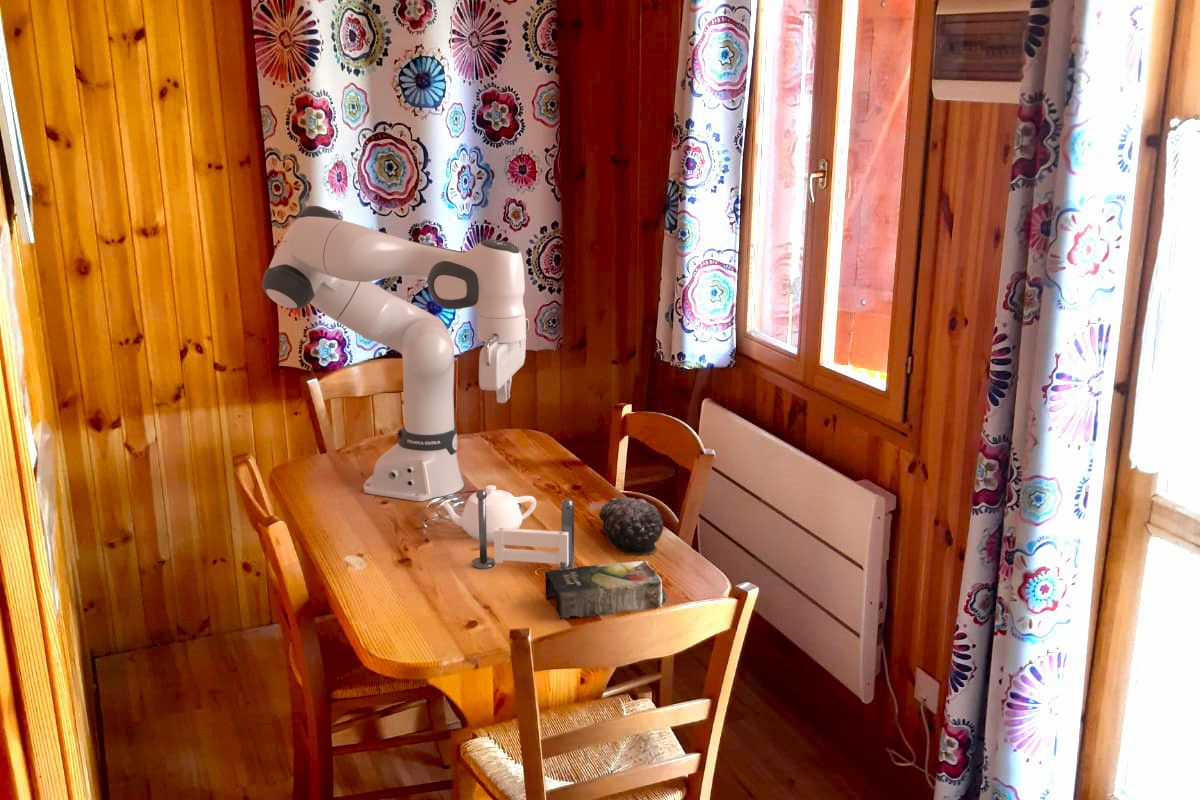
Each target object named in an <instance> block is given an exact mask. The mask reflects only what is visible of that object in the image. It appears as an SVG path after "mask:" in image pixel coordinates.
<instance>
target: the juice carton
mask: <svg viewBox="0 0 1200 800" xmlns="http://www.w3.org/2000/svg"><path fill="white" fill-rule="evenodd" d="M544 574H545V575H544V578H545V580H544V581H545V599H546V600H548V598H554V597H555V600H556V601H555V602H556V611H557V615H558V618H559V619H560V620H562V617H563V618H566V619H570V617H575V616H576V617H579V618H581V617H582V618H584V617H586V616H587V617H597V615H598V616H606V615H614V614H619V613H625V612H634V610H635V611H643V610H650V609H659V608H662V605H664V604H665V602H666V600H667V595H666V591H665V590H664V588H663V585H662V583H663V582H662V579H661V577H660V575H658V574H657V571H656V569H655V568H653V567H651V565H650V564H649V563H648V561H647V560H644V561H643V560H639V561H636V560H635V561H629V562H628V561H627V562H617V563H613V562H612V563H605V564H597V565H596V564H595V565H584V566H578V567H572V568H566V569H561V568H560V569H551V570H548V571H545V573H544Z"/></svg>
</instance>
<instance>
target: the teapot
mask: <svg viewBox="0 0 1200 800" xmlns="http://www.w3.org/2000/svg"><path fill="white" fill-rule="evenodd" d="M484 490H485V491H486V493H487V497H486V498H485V501H486V536H487V543H490V542H492V543H494V530H495V528H496V527H498V528H511V529H521V526H522V523H523V520H525V519H527V518H528V517H529V516H530V515H532V513H533V512H534V511H535V510H536V507H537V499H536V498H535V497H534V496H532V495H523V496H514V495H513V494H512V493H511V492H509V491H506V490H504V489H503V490H502V489H497V486H496V485H493V484H489V485H487V486H485V489H484ZM476 493H477V491H476V492H474V493H472V494H470V496H469V497H468V499H467V501H466V502H465V505H464V508H463V511H462V513H461V515H459V514H457V513H456V512H455V510H454V509H453V507H452V506H451V505H450V503H448V501H443V502H442V503H440V504H439V506H442V507H443V508H444V509H445V510H446V511H447V513H448V516H449V518H450V519H451V520H452V522H453V523H454V524H455V525H456V526H459V527H462V528H463V531H465V532H466V533H467V534H468V535H469V536H471V538H473V539H474V540H476V541H479V517H478V498H477V496H476ZM526 502H531V504H530V507H529V508H528V509H527V510H526V511H525V512H524V513H523V514H522V511H521V509H520V506H519V504H521V503H526Z"/></svg>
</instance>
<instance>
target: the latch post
mask: <svg viewBox="0 0 1200 800" xmlns="http://www.w3.org/2000/svg"><path fill="white" fill-rule="evenodd" d="M560 507H561V515H560V516H561V517H560V518H561V531H564V532H568V533H569V564H568V566H567V568H566V569H571V568H574V566H575V503H574V501H573V499H571V498H565V499H563V500H562V502H561V505H560Z"/></svg>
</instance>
